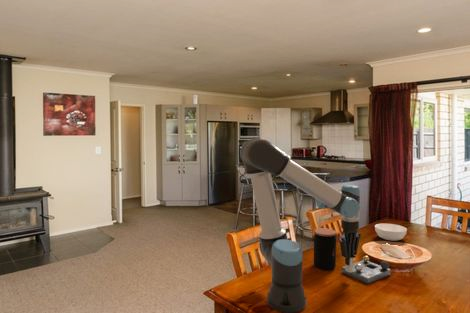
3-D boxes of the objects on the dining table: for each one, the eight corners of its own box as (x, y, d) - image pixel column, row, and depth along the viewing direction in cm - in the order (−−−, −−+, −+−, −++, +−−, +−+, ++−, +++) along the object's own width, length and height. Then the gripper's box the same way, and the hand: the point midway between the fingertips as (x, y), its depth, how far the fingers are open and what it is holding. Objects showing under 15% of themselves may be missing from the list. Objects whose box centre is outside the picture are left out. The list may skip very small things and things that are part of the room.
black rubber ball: (385, 271, 151) (386, 263, 151) (378, 268, 154) (378, 260, 154) (390, 269, 153) (391, 261, 153) (383, 266, 156) (383, 258, 156)
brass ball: (366, 263, 160) (366, 257, 160) (361, 261, 162) (361, 255, 162) (370, 262, 161) (370, 256, 161) (365, 260, 164) (365, 254, 164)
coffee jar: (336, 272, 156) (337, 235, 154) (313, 270, 158) (314, 233, 157) (334, 263, 166) (335, 228, 165) (313, 261, 168) (313, 227, 167)
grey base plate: (367, 283, 144) (367, 278, 144) (341, 272, 156) (342, 267, 155) (390, 274, 153) (390, 269, 153) (364, 264, 165) (364, 259, 164)
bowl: (377, 232, 218) (378, 221, 217) (408, 237, 207) (409, 226, 207) (371, 239, 203) (371, 228, 203) (403, 245, 192) (404, 233, 192)
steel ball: (359, 273, 149) (359, 265, 149) (353, 270, 152) (353, 263, 151) (364, 271, 151) (364, 264, 150) (357, 268, 153) (358, 261, 153)
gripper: (347, 224, 139) (346, 277, 141) (366, 219, 146) (365, 270, 147) (333, 220, 145) (332, 271, 147) (352, 216, 152) (351, 265, 154)
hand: (349, 271), depth 147 cm, fingers closed
